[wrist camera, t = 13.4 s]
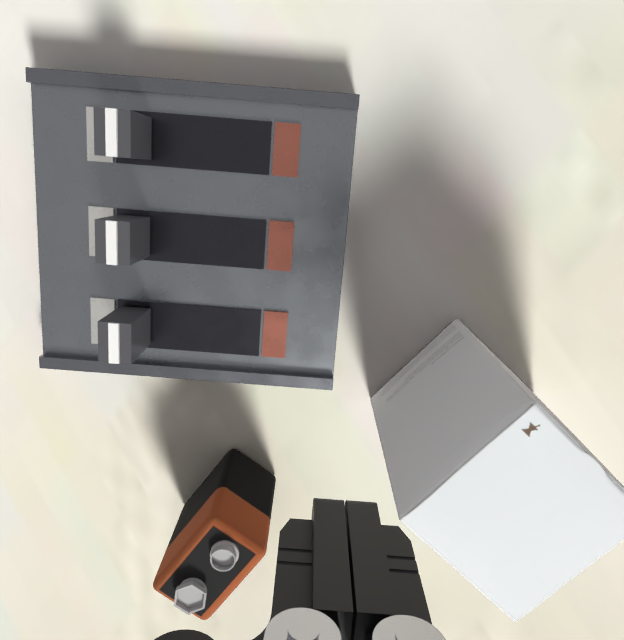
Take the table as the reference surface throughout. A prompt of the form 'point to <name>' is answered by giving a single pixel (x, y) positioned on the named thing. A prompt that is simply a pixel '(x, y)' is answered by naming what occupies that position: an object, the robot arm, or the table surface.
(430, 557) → the table surface
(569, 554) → the supplement box
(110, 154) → the breaker
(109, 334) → the breaker
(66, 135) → the panel
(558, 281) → the table surface
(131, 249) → the breaker
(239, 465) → the battery
